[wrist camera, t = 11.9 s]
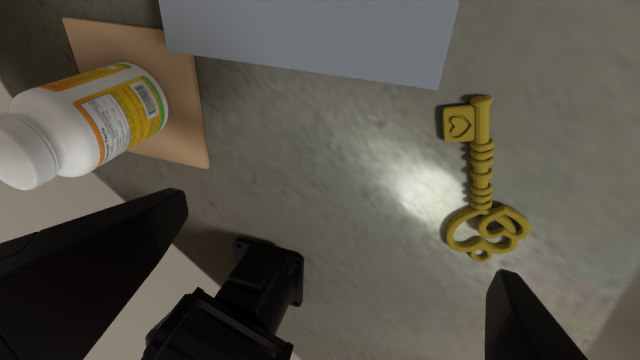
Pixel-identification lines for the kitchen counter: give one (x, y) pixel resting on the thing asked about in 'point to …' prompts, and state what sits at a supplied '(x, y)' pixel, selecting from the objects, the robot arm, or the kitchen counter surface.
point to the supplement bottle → (78, 123)
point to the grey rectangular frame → (319, 35)
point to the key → (480, 182)
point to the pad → (165, 67)
